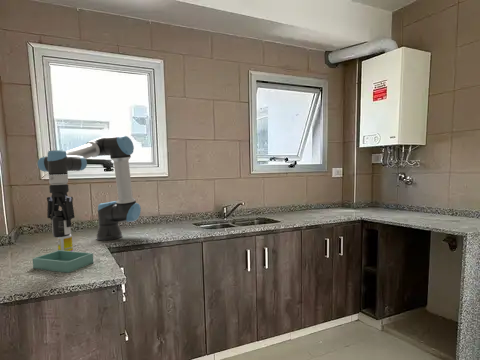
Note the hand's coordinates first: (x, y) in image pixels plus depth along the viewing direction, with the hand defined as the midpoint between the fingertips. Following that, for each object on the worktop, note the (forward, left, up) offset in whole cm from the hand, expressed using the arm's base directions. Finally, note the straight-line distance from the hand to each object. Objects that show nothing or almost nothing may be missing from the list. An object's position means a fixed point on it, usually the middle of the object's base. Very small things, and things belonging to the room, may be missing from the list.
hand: (61, 233), depth 138 cm
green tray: (0, 0, -15) cm, 15 cm away
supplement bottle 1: (0, 0, -1) cm, 1 cm away
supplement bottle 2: (-15, -17, -15) cm, 27 cm away
